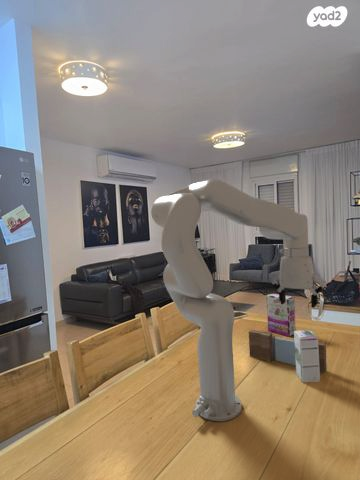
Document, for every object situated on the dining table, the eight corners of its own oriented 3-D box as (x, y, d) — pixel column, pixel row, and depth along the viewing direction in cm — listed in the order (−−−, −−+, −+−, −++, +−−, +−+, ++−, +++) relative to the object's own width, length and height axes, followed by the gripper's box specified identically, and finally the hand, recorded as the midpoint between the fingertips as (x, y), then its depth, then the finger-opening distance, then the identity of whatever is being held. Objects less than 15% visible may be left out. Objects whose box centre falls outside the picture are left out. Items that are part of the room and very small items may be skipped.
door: (310, 370, 103) (309, 344, 102) (271, 360, 111) (270, 337, 110) (312, 367, 105) (311, 342, 104) (273, 358, 113) (272, 335, 112)
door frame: (324, 374, 100) (323, 345, 100) (249, 356, 116) (247, 331, 116) (326, 370, 103) (325, 342, 102) (252, 353, 119) (251, 329, 118)
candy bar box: (296, 334, 135) (294, 296, 133) (289, 337, 132) (288, 299, 130) (274, 327, 144) (272, 292, 142) (267, 330, 141) (265, 294, 139)
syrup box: (320, 381, 96) (319, 335, 95) (301, 382, 97) (299, 337, 96) (313, 372, 102) (311, 329, 101) (295, 373, 102) (293, 330, 101)
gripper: (265, 253, 103) (268, 305, 104) (322, 254, 93) (324, 311, 94) (273, 251, 109) (275, 299, 111) (327, 251, 99) (329, 304, 100)
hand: (298, 304), depth 102 cm, fingers open, 9 cm apart
